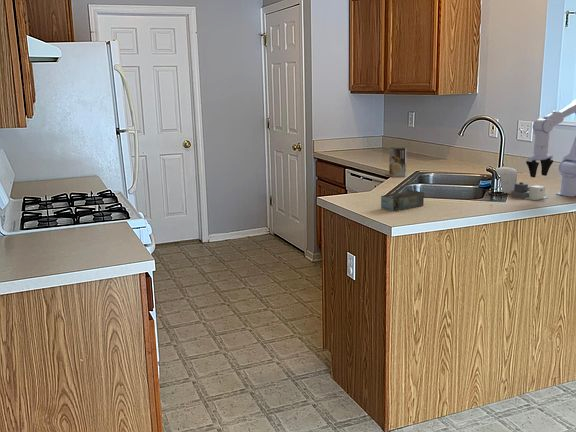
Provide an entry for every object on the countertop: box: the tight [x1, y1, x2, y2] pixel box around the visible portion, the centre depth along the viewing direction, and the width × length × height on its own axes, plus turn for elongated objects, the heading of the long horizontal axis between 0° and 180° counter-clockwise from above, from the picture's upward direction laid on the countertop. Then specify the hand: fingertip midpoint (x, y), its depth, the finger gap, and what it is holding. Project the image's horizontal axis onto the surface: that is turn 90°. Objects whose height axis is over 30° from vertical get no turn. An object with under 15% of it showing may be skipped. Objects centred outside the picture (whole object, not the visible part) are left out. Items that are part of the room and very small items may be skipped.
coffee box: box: [388, 146, 407, 178], centre depth 324 cm, size 9×6×16 cm
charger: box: [529, 184, 546, 199], centre depth 260 cm, size 4×5×5 cm
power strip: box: [510, 181, 530, 200], centre depth 265 cm, size 14×7×7 cm, turn 119°
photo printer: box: [494, 166, 518, 195], centre depth 272 cm, size 10×4×12 cm, turn 60°
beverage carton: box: [380, 189, 425, 213], centre depth 245 cm, size 8×19×7 cm, turn 126°
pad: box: [524, 196, 549, 201], centre depth 260 cm, size 9×5×1 cm, turn 119°
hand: (538, 176), depth 258 cm, fingers open, 7 cm apart
